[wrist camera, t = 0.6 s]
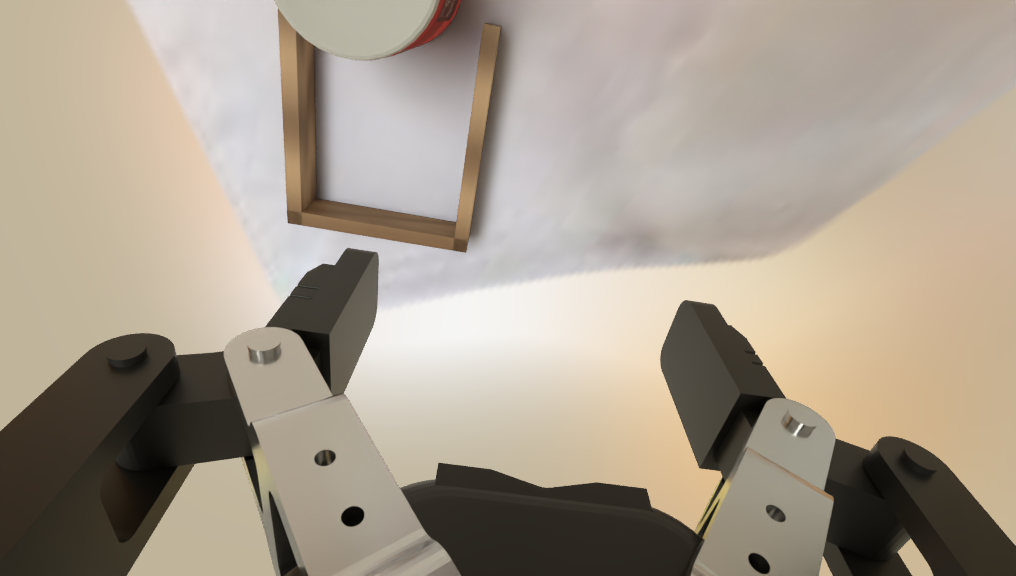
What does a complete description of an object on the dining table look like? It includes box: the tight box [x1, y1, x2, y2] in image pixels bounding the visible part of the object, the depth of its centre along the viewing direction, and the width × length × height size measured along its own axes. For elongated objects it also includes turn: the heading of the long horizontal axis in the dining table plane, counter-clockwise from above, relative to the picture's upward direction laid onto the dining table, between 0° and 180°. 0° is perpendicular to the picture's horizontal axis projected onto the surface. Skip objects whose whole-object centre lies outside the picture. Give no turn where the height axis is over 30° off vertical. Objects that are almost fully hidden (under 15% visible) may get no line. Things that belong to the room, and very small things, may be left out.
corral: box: [278, 9, 501, 252], centre depth 33 cm, size 15×13×3 cm
